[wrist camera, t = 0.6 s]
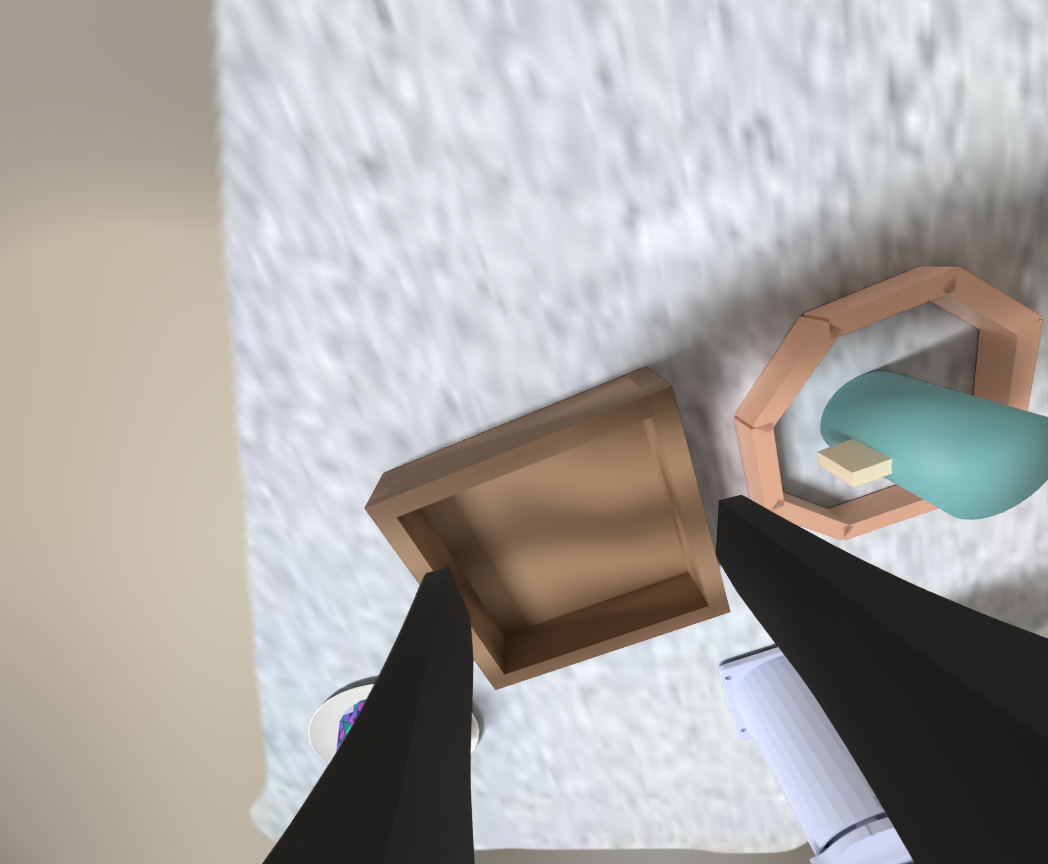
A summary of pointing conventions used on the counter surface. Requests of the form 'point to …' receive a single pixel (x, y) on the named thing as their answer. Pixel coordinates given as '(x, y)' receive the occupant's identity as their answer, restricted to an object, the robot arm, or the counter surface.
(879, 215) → the counter surface
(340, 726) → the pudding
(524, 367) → the counter surface
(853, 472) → the teal tapered cylinder
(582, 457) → the tray
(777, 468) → the collar
